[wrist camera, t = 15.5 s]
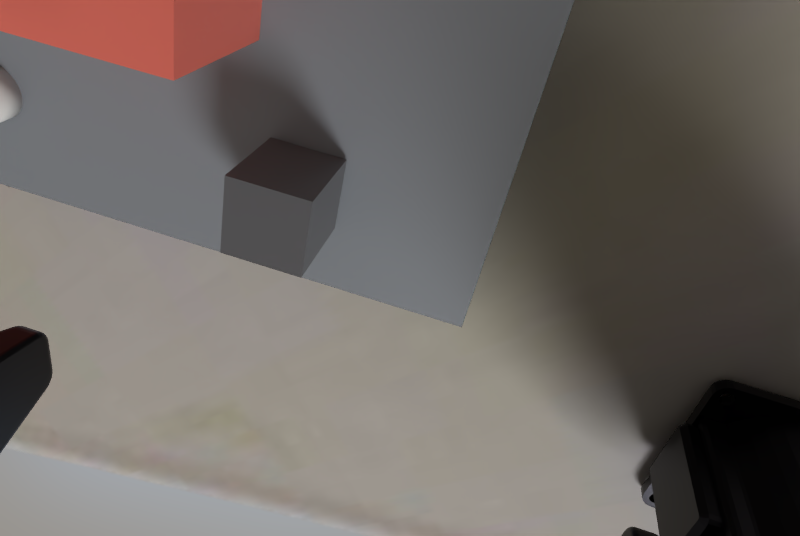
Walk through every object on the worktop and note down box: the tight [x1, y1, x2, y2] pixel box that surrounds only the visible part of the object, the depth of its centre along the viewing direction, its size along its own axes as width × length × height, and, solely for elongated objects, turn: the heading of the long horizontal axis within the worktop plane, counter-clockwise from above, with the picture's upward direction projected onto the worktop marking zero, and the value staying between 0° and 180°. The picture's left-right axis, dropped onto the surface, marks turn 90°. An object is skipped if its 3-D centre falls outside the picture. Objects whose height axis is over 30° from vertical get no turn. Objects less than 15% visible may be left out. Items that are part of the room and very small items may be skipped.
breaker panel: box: [0, 0, 574, 327], centre depth 17 cm, size 18×14×2 cm
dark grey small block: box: [220, 137, 347, 277], centre depth 18 cm, size 2×2×3 cm
